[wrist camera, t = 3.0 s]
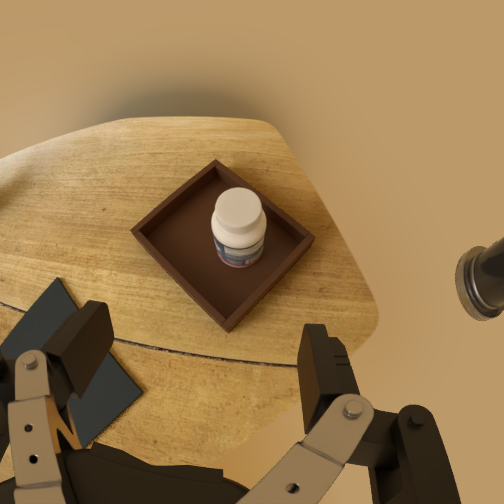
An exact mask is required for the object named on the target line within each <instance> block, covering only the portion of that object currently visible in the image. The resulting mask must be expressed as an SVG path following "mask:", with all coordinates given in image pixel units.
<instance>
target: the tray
mask: <svg viewBox="0 0 504 504" xmlns="http://www.w3.org/2000/svg"><path fill="white" fill-rule="evenodd" d="M238 187H239V188H246V189H249V190H251V191H253V192H254V193H255V194H256V195H257V196H258V197H259V199H260V201H261V205H262V209H263V211H264V213H265V216H266V231H265V236H264V245H263V251H262V254H261V256H260V258H259V259H258V260H257V261H256V262H255V263H254V264H252V265H250V266H247V267H242V268H237V267H232V266H230V265H228V264H226V263H225V262H223V261H222V259H221V258H220V257H219V255H218V253H217V249H216V245H215V241H214V236H213V232H212V225H211V220H212V215H213V213H214V211H215V205H216V202H217V199H218V198H219V196H220V195H221V194H222V193H223V192H225V191H227V190H229V189H232V188H238ZM130 231H131V232H132V234H133V235H134V236H135V238H136V239H137V240H138V241H139V242H140V244H141V245H142V246H143V247H144V248H145V249H146V250H147V251H148V252H149V254H150V255H151V256H152V257H153V258H154V259H155V260H156V261H157V262H158V263H159V264H160V265H161V267H162V268H163V269H164V270H165V271H166V272H167V273H168V274H169V275H170V276H171V277H172V278H173V279H174V280H175V281H176V282H177V283H178V284H179V285H180V286H181V287H182V289H183V290H184V291H185V292H186V293H187V294H188V295H189V296H190V297H191V298H192V299H193V300H194V301H195V302H196V303H197V304H198V305H199V306H200V307H201V308H202V309H203V310H204V311H205V312H206V313H207V314H208V315H209V316H210V317H211V318H212V319H214V320H215V321H216V322H217V323H218V324H219V325H220V326H221V327H222V328H223V329H224V330H225V331H226V332H227V333H229V332H230V331H231V330H232V329H233V328H234V327H235V326H236V325H237V324H238V323H239V322H240V321H241V320H242V319H243V318H244V317H245V316H246V315H247V314H248V313H249V312H250V311H251V310H252V309H253V308H254V307H255V306H256V305H257V304H258V302H259V301H260V300H261V299H262V298H263V297H264V296H265V295H266V294H267V293H268V292H269V291H270V290H271V289H272V288H273V287H274V286H275V285H276V284H277V282H278V281H279V280H280V279H281V278H282V277H283V276H284V275H285V274H286V273H287V272H288V271H289V270H290V269H291V267H292V266H293V265H294V264H295V263H296V262H297V261H298V260H299V259H300V258H301V257H302V256H303V254H304V253H305V252H306V251H307V250H308V249H309V248H310V247H311V245H312V243H313V241H314V239H315V236H313V235H312V234H311V233H310V232H309V231H308V230H306V229H305V228H304V227H303V226H301V225H300V224H299V223H298V222H297V221H295V220H294V219H293V218H292V217H290V216H289V215H288V214H287V213H285V212H284V211H283V210H282V209H280V208H279V207H278V206H276V205H275V204H274V203H273V202H271V201H270V200H269V199H268V198H266V197H265V196H264V195H262V194H261V193H260V192H259V191H257V190H256V189H255V188H253V187H252V186H251V185H249V184H248V183H247V182H246V181H244V180H243V179H242V178H240V177H239V176H238V175H236V174H235V173H234V172H232V171H231V170H230V169H228V168H227V167H226V166H224V165H223V164H222V163H220V162H219V161H218V160H216V159H215V160H214V161H212V162H211V163H210V164H209V165H207V166H206V167H205V168H203V169H202V170H201V171H200V172H198V173H197V174H196V175H195V176H193V177H192V178H191V179H189V180H188V181H187V182H186V183H185V184H183V185H182V186H181V187H180V188H178V189H177V190H176V191H175V192H174V193H172V194H171V195H170V196H169V197H168V198H166V199H165V200H164V201H163V202H162V203H161V204H159V205H158V206H157V207H156V208H155V209H154V210H152V211H151V212H150V213H149V214H148V215H147V216H146V217H144V218H143V219H142V220H141V221H140V222H139V223H138V224H137V225H135V226H134V227H133V228H132V229H131V230H130Z"/></svg>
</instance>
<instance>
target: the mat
mask: <svg viewBox="0 0 504 504" xmlns="http://www.w3.org/2000/svg"><path fill="white" fill-rule="evenodd" d="M77 310H79V309H78V307H77V306H76V304H75V303H74V301H73V300H72V298H71V297H70V295H69V293H68V292H67V290H66V289H65V287H64V285H63V284H62V282H61V280H60V279H59V278H58V277H57V278H56V279H55V280H54V281H53V282H52V283H51V285H50V286H49V287H48V288H47V289H46V290H45V291H44V292H43V294H42V295H41V296H40V297H39V298H38V299H37V301H36V302H35V303H34V304H33V305H32V306H31V308H30V309H29V310H28V311H27V312H26V314H25V315H24V316H23V317H22V319H21V320H20V321H19V322H18V324H17V325H16V326H15V327H14V329H13V330H12V331H11V333H10V334H9V335H8V336H7V338H6V339H5V340H4V342H3V343H2V345H1V346H0V350H1V352H2V354H3V356H4V358H5V359H16V360H17V358H18V357H19V356H20V355H21V354H23V353H24V352H26V351H29V350H40V349H41V348H42V347H43V345H44V344H45V343H46V342H47V340H48V339H49V338H50V337H51V336H52V334H53V333H54V332H55V331H56V330H58V327H59V326H60V325H61V324H63V322H64V320H65V319H66V318H67V317H68V316H69V315H70V314H72V313H74V312H75V311H77ZM142 393H143V391H142V390H141V389H140V388H139V387H138V385H137V384H136V383H135V382H134V381H133V380H132V379H131V377H130V376H129V375H128V374H127V373H126V372H125V370H124V369H123V368H122V367H121V366H120V364H119V363H118V362H117V361H116V359H115V358H114V357H113V356H112V354H111V353H110V352H108V353H107V355H106V356H105V358H104V360H103V362H102V363H101V365H100V367H99V368H98V370H97V372H96V373H95V375H94V377H93V379H92V380H91V382H90V384H89V386H88V387H87V389H86V391H85V393H84V395H83V396H82V398H81V400H79V399H76V398H73V397H70V398H69V400H68V403H69V405H70V409H71V413H72V417H73V421H74V425H75V429H76V433H77V436H78V440H79V442H80V444H81V446H82V448H85V447H86V446H87V445H88V444H89V443H90V442H91V441H92V440H93V439H94V438H95V437H97V436H98V435H99V434H100V433H101V432H102V431H103V430H104V429H105V428H106V427H107V426H108V425H109V424H111V423H112V422H113V421H114V420H115V419H116V418H117V417H118V416H119V415H120V414H121V413H122V412H123V411H124V410H126V409H127V408H128V407H129V406H130V405H131V404H132V403H133V402H134V401H135V400H136V399H137V398H138V397H139V396H140V395H141V394H142Z"/></svg>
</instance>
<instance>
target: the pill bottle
mask: <svg viewBox="0 0 504 504" xmlns="http://www.w3.org/2000/svg"><path fill="white" fill-rule="evenodd" d="M211 225H212V232H213V236H214V241H215V245H216V249H217V253H218V255H219V257H220V258H221V259H222V261H223V262H225V263H226V264H228V265H230V266H232V267H237V268H242V267H247V266H250V265H252V264H254V263H255V262H256V261H257V260H258V259H259V258H260V256H261V254H262V251H263V245H264V236H265V231H266V216H265V213H264V211H263V209H262V205H261V201H260V199H259V197H258V196H257V195H256V194H255V193H254V192H253V191H251V190H249V189H246V188H239V187H238V188H232V189H229V190H227V191H225V192H223V193H222V194H221V195H220V196H219V198H218V199H217V202H216V205H215V211H214V213H213V215H212V220H211Z"/></svg>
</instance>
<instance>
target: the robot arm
mask: <svg viewBox="0 0 504 504" xmlns="http://www.w3.org/2000/svg"><path fill="white" fill-rule="evenodd" d="M469 280H470V285H471V289H472V292H473V294H474V296H475V298H476V300H477V301H478V303H479V304H480V305H481V306H482V307H484V308H485V309H488V310H495V311H496V312H497V313H498V312H501V311H503V310H504V237H503V238H502V239H500V240H499V241H497V242H495V243H494V244H492V246H490V247H489V248H487V249H485V250H483V251H482V252H480V253H478V254H477V255H475V256H474V257H473V259H472V261H471V263H470V267H469ZM113 341H114V331H113V327H112V323H111V318H110V314H109V309H108V306H107V304H106V303H105V302H99V301H93V300H89V301H87V302H86V304H85V305H84V306H83V307H82V308H81V309H80V310H77V311H75V312H74V313H72V314H70V315H69V316H68V317H67V318H66V319H65V320H64V322H63V324H61V325H60V326H59V327H58V330H56V331H55V332H54V333H53V334H52V336H51V337H50V338H49V339H48V340H47V342H46V343H45V344H44V345H43V347H42V348H41V349H40V350H29V351H26V352H24V353H23V354H21V355H20V356H19V357H18V358H17V360H16V359H5V358H4V356H3V354H2V352H1V350H0V462H1V460H2V458H3V455H4V453H5V451H6V449H7V447H8V445H9V443H10V446H11V454H12V461H13V468H14V474H15V477H13V478H10V479H8V480H6V481H3V482H1V483H0V504H318V503H319V501H320V500H321V499H322V498H323V496H324V495H325V494H326V492H327V491H328V490H329V488H330V487H331V485H332V484H333V483H334V481H335V480H336V478H337V477H338V476H339V474H340V473H341V471H342V470H343V468H344V466H345V464H346V463H349V464H355V465H361V466H368V471H369V478H370V485H371V493H372V501H373V504H461V501H460V497H459V493H458V490H457V486H456V482H455V479H454V475H453V472H452V469H451V466H450V462H449V459H448V456H447V453H446V450H445V447H444V444H443V441H442V438H441V436H440V433H439V430H438V427H437V425H436V422H435V419H434V417H433V415H432V414H431V412H430V411H429V410H427V409H426V408H425V407H422V406H420V405H408V406H405V407H404V408H402V409H401V410H400V412H399V413H398V414H397V413H391V412H385V411H380V410H377V409H374V408H373V406H372V404H371V403H370V402H369V401H368V400H367V399H366V398H364V397H362V396H361V395H360V392H359V389H358V386H357V383H356V380H355V377H354V373H353V370H352V367H351V366H350V361H349V358H348V354H347V351H346V348H345V346H344V345H343V344H342V342H341V341H340V340H339V339H338V338H337V337H328V334H327V330H326V327H325V325H324V324H305V325H304V328H303V333H302V338H301V342H300V347H299V352H298V358H297V369H298V377H299V386H300V394H301V403H302V412H303V421H304V431H305V434H307V436H306V437H305V438H304V439H303V440H302V441H301V442H297V443H296V444H295V445H294V446H293V447H292V448H291V449H290V450H289V451H288V452H287V453H286V455H284V456H283V458H282V459H281V460H280V461H279V462H278V463H277V464H276V465H275V466H274V467H273V468H272V469H271V470H270V471H269V472H268V473H267V474H266V475H265V477H263V478H262V479H261V480H260V481H259V482H258V483H257V484H256V485H255V486H254V487H253V488H252V489H251V490H249V489H248V488H247V487H245V486H243V485H241V484H240V483H238V482H235V481H233V480H230V479H227V478H225V477H223V469H214V468H206V467H199V466H192V465H174V466H154V465H150V464H148V463H146V462H144V461H142V460H140V459H138V458H136V457H134V456H132V455H130V454H128V453H126V452H125V451H123V450H120V449H116V448H113V447H110V446H107V445H104V444H101V443H98V442H95V441H94V443H93V445H92V447H91V449H83V448H82V446H81V444H80V442H79V440H78V436H77V433H76V429H75V425H74V421H73V417H72V413H71V409H70V405H69V403H68V400H69V398H70V397H73V398H76V399H79V400H81V398H82V396H83V395H84V393H85V391H86V389H87V387H88V386H89V384H90V382H91V380H92V379H93V377H94V375H95V373H96V372H97V370H98V368H99V367H100V365H101V363H102V362H103V360H104V358H105V356H106V355H107V353H108V352H109V350H110V348H111V347H112V344H113Z"/></svg>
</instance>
